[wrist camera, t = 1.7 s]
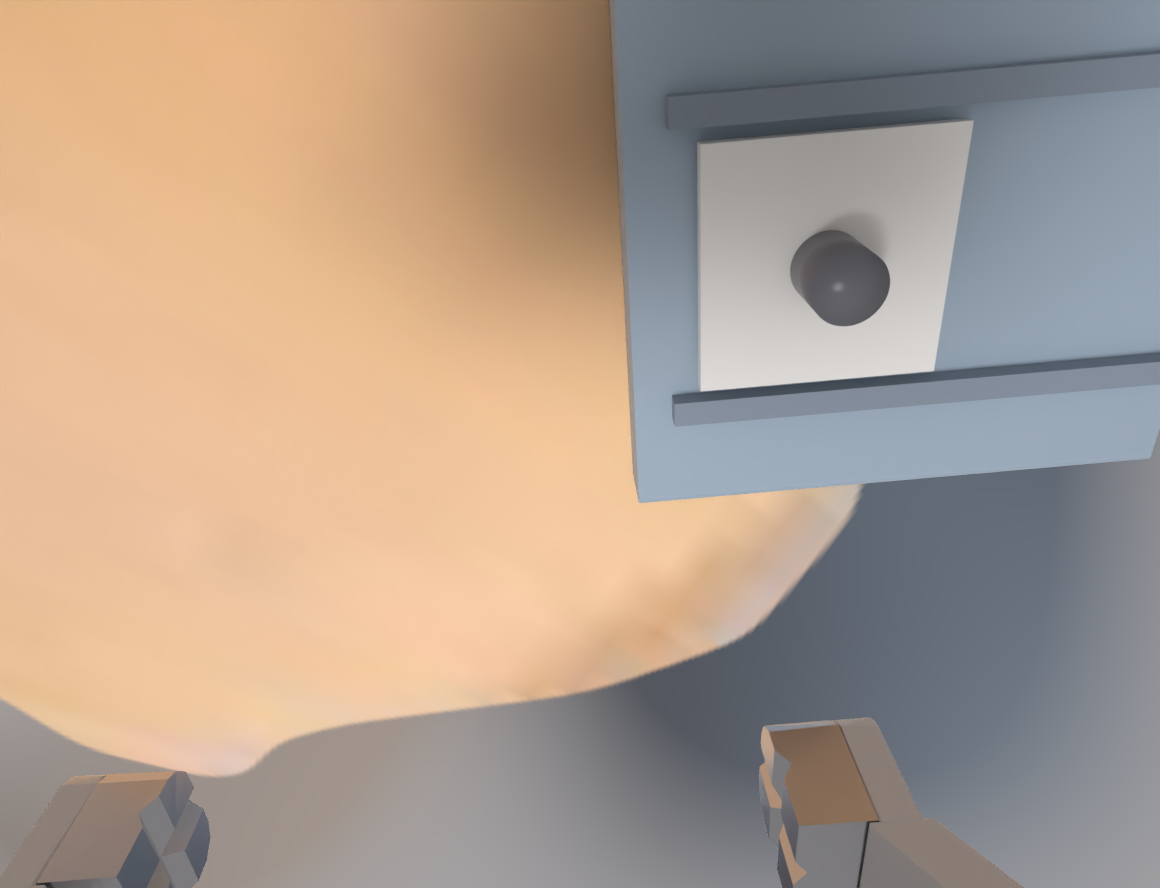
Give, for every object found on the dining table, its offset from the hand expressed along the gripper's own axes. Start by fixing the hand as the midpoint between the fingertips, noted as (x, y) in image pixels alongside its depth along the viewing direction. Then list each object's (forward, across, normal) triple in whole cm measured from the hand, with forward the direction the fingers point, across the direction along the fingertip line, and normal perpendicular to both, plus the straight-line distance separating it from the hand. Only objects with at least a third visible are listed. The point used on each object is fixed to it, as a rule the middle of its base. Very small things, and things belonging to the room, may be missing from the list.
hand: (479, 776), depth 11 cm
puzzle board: (+23, -15, -2) cm, 28 cm away
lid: (+20, -11, -1) cm, 23 cm away
